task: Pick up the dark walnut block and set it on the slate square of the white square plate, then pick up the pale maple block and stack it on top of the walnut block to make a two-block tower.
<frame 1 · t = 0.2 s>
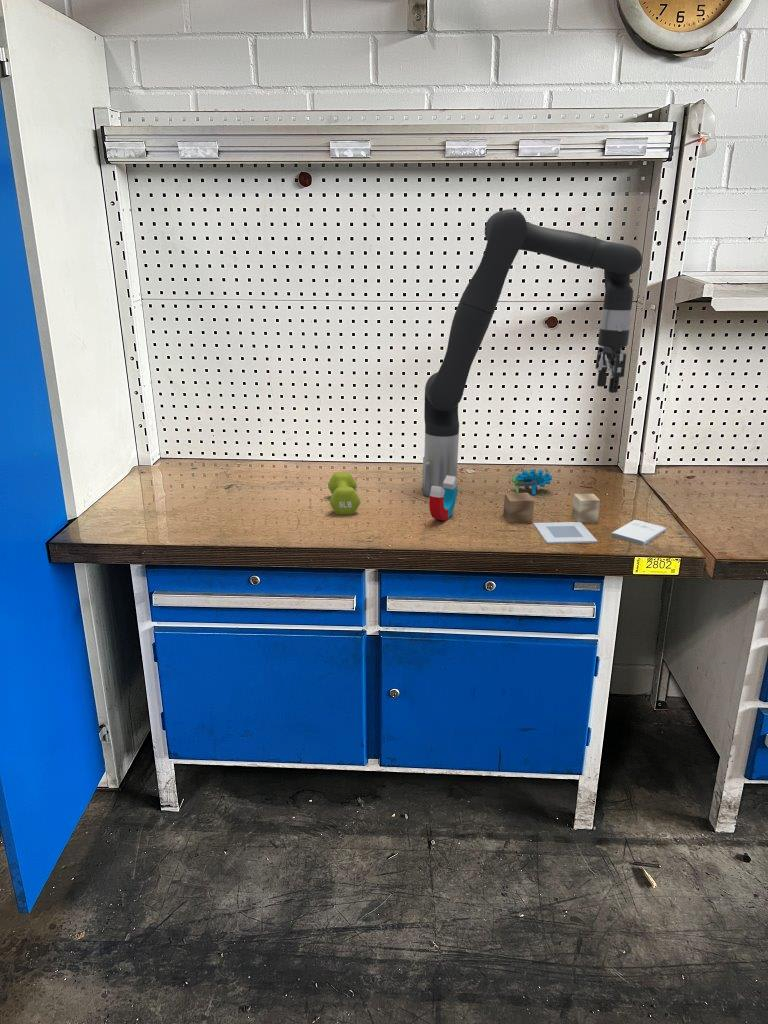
hand: (606, 389, 187), 29 cm above the workbench, fingers open, 8 cm apart
white square plate: (564, 533, 167), on the workbench
dumbbell: (343, 506, 185), on the workbench
external hard drive: (638, 536, 168), on the workbench
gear: (530, 492, 196), on the workbench
maple block: (584, 519, 176), on the workbench
magnet: (442, 519, 176), on the workbench
walnut block: (517, 519, 176), on the workbench
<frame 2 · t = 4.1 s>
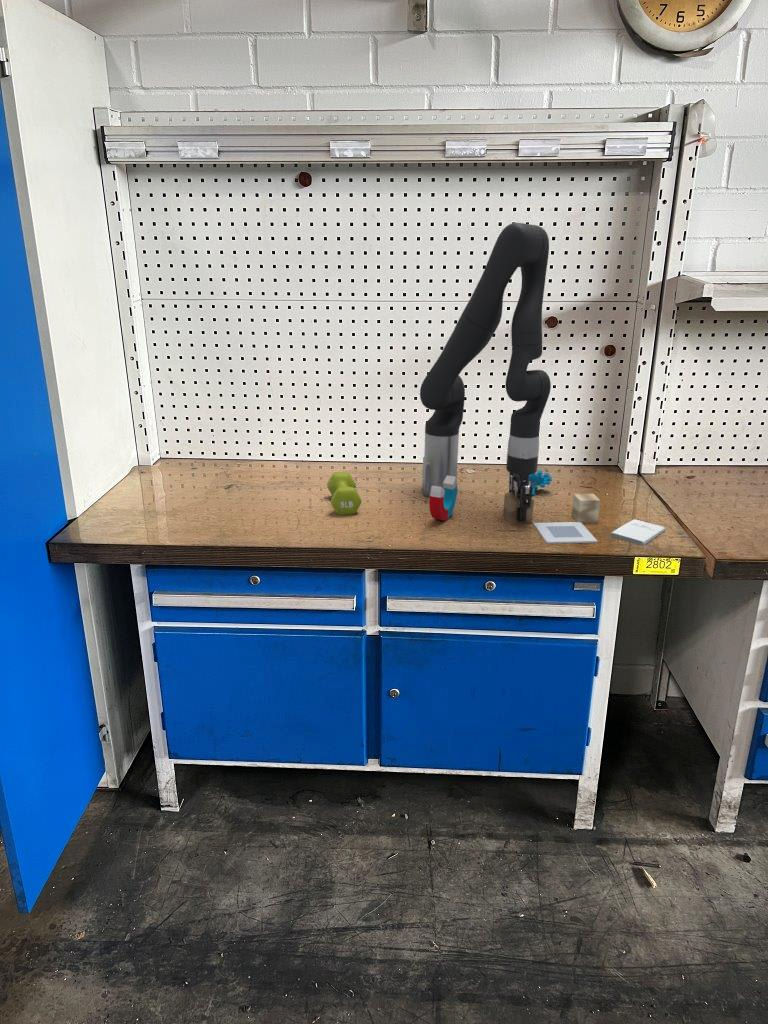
hand: (517, 516, 176), 1 cm above the workbench, fingers closed on walnut block, 6 cm apart
walnut block: (517, 518, 176), on the workbench, touching gripper
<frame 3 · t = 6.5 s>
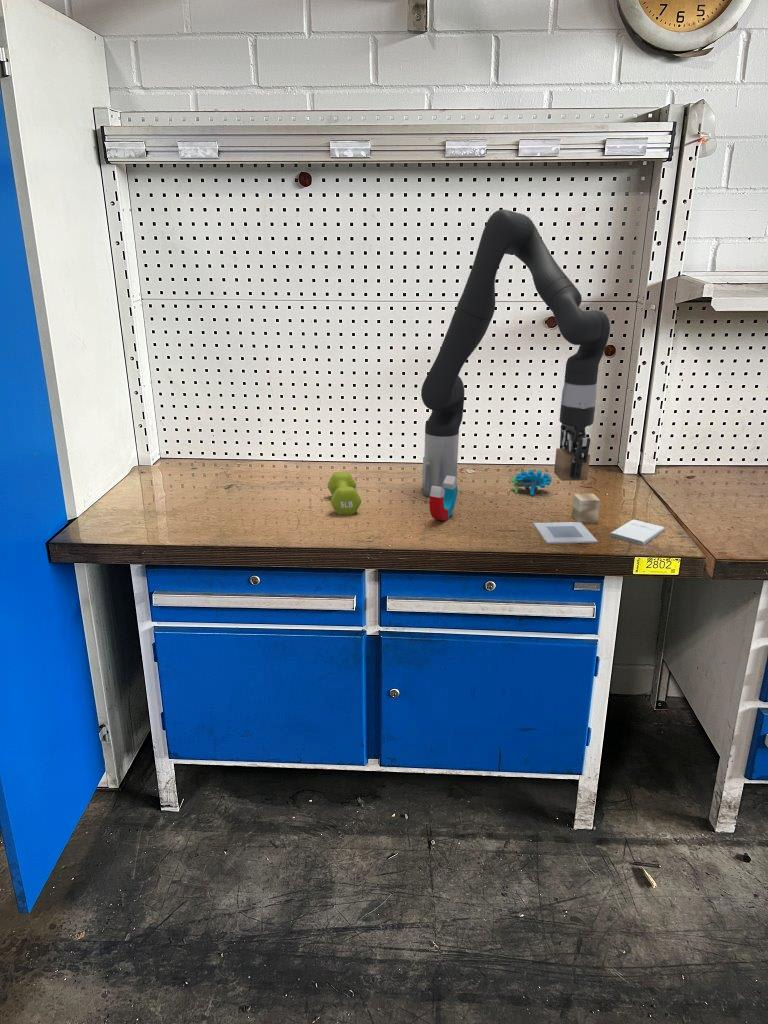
hand: (570, 473, 162), 15 cm above the workbench, fingers closed on walnut block, 6 cm apart
walnut block: (570, 476, 162), point 14 cm above the workbench, touching gripper
everything else where it was.
when the fingers open (3 cm above the workbench, at t = 9.2 s): walnut block drops 1 cm, resting on white square plate.
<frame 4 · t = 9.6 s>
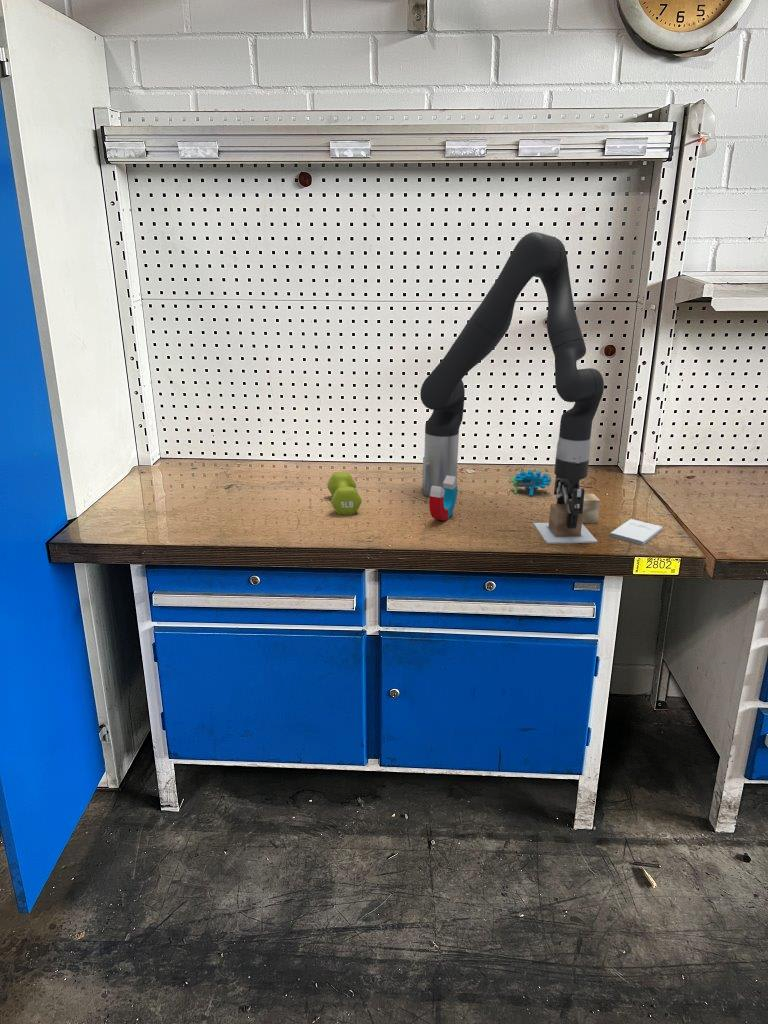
hand: (565, 521, 166), 3 cm above the workbench, fingers open, 8 cm apart
walnut block: (564, 531, 167), resting on white square plate
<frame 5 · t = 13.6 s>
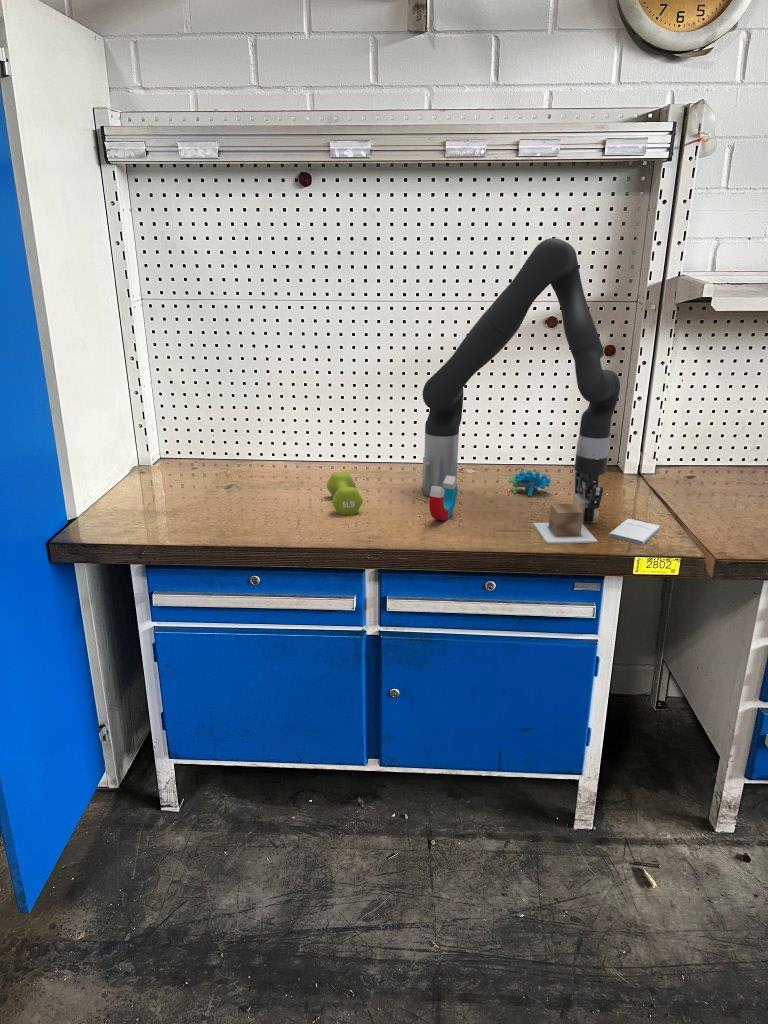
hand: (584, 517, 176), 0 cm above the workbench, fingers closed on maple block, 5 cm apart
maple block: (584, 519, 176), on the workbench, touching gripper
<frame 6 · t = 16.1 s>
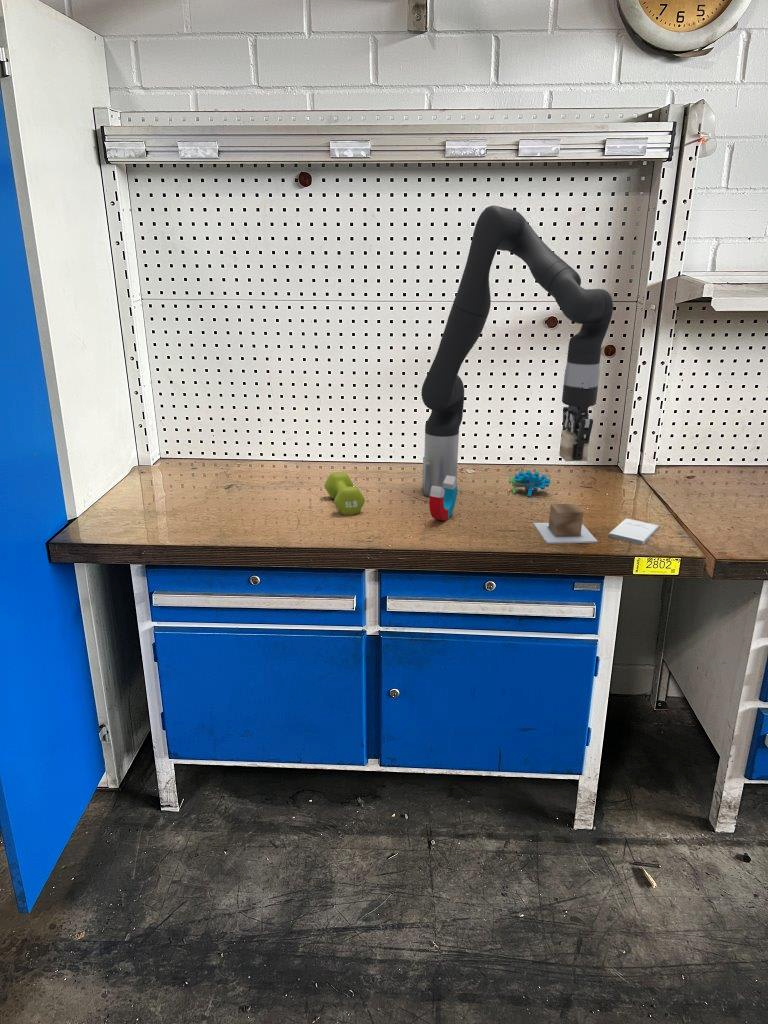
hand: (573, 456, 161), 19 cm above the workbench, fingers closed on maple block, 5 cm apart
maple block: (573, 458, 161), point 19 cm above the workbench, touching gripper
when the fingers open (8 cm above the workbench, at t = 18.6 s): maple block drops 1 cm, resting on walnut block.
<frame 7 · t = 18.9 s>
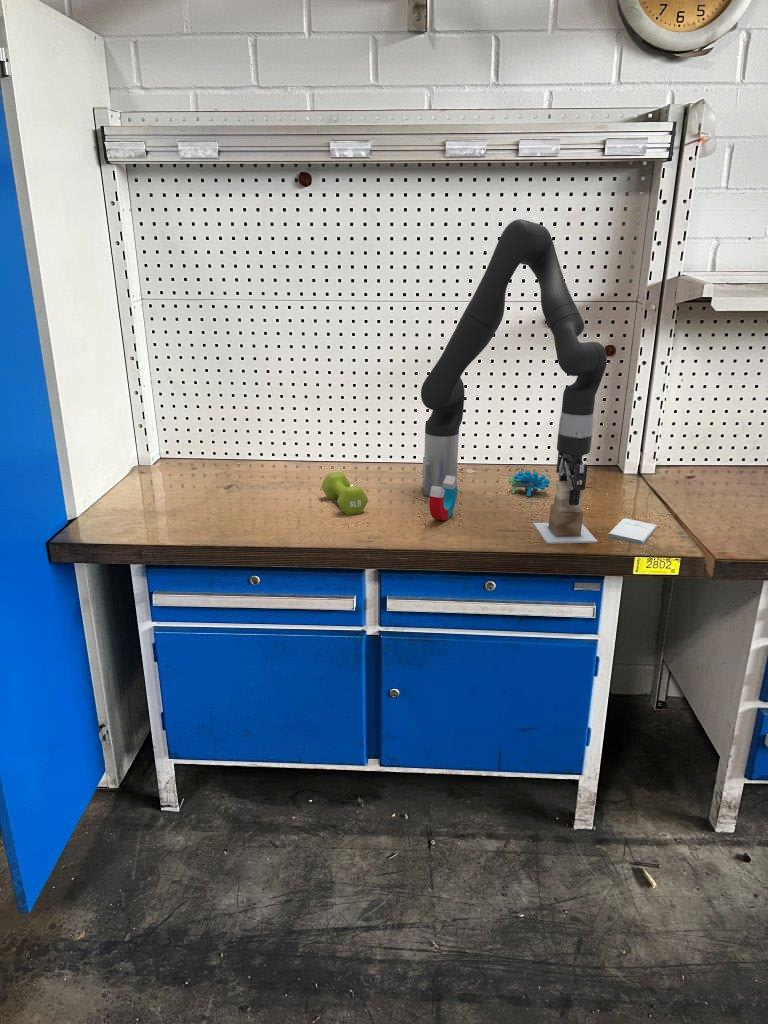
hand: (568, 498, 164), 9 cm above the workbench, fingers open, 8 cm apart
maple block: (567, 508, 165), point 6 cm above the workbench, touching walnut block
walnut block: (564, 531, 167), resting on white square plate, touching maple block
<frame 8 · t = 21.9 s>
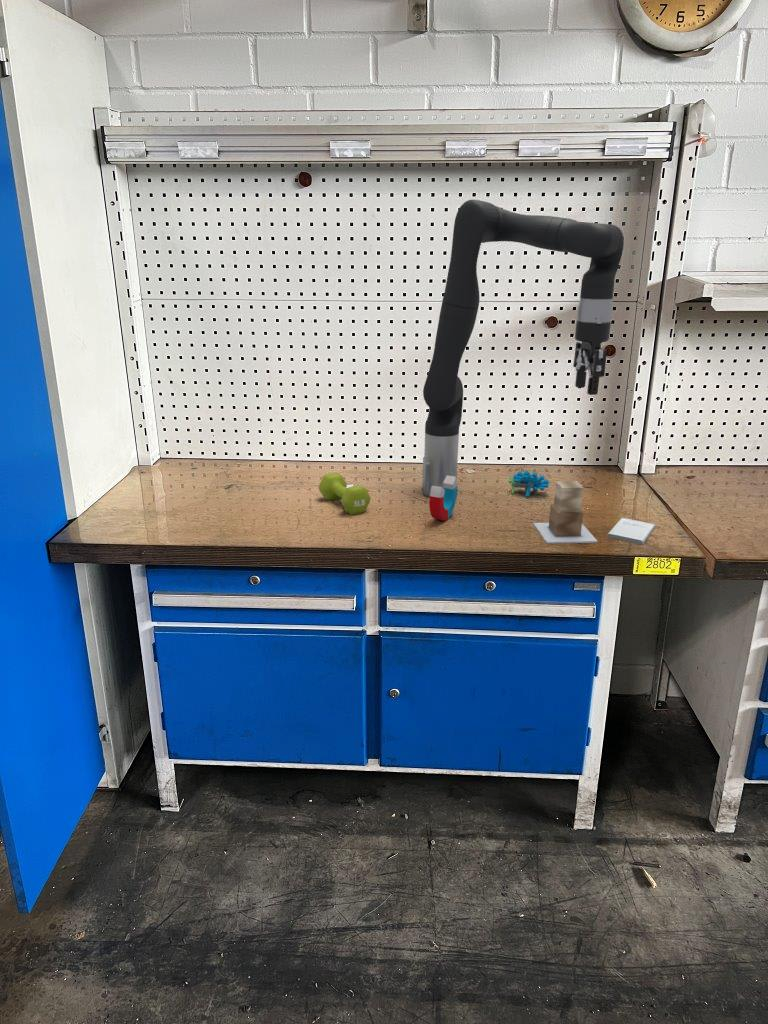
hand: (585, 390, 162), 33 cm above the workbench, fingers open, 8 cm apart
at the end: walnut block inside the target area on the white square plate (0.1 cm from its centre), point 0.4 cm above the white square plate's base; maple block 0.1 cm off-centre on the walnut block, point 6.0 cm above the walnut block's base; maple block tilted 0° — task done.
